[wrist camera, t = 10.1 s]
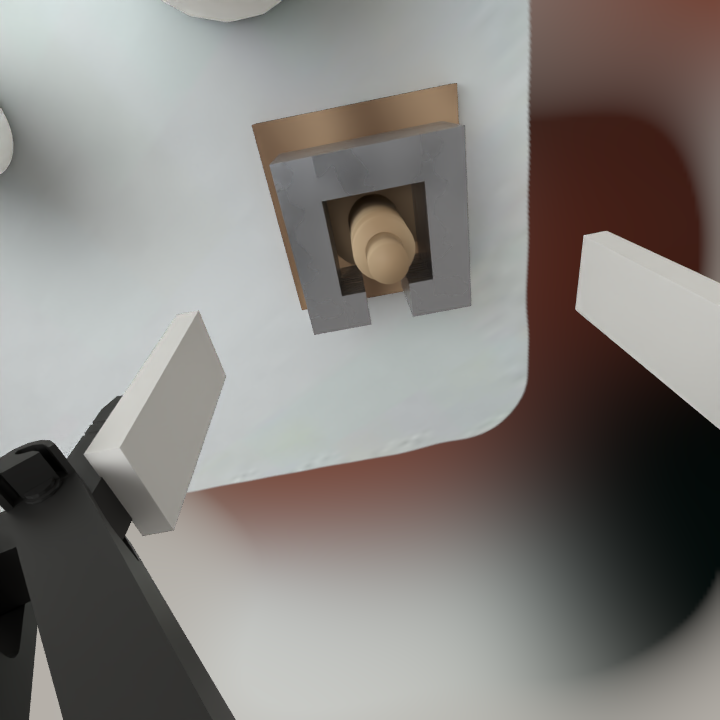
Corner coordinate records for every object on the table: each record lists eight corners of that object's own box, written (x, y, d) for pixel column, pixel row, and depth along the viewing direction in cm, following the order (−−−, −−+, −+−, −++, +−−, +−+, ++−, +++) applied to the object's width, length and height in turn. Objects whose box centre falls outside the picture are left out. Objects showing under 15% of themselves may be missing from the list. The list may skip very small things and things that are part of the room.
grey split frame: (451, 277, 28) (471, 305, 24) (316, 302, 28) (314, 334, 24) (441, 120, 23) (464, 125, 19) (279, 153, 23) (269, 164, 19)
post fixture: (303, 301, 32) (290, 396, 22) (255, 123, 26) (206, 140, 16) (459, 272, 32) (521, 355, 21) (450, 83, 25) (531, 74, 15)
